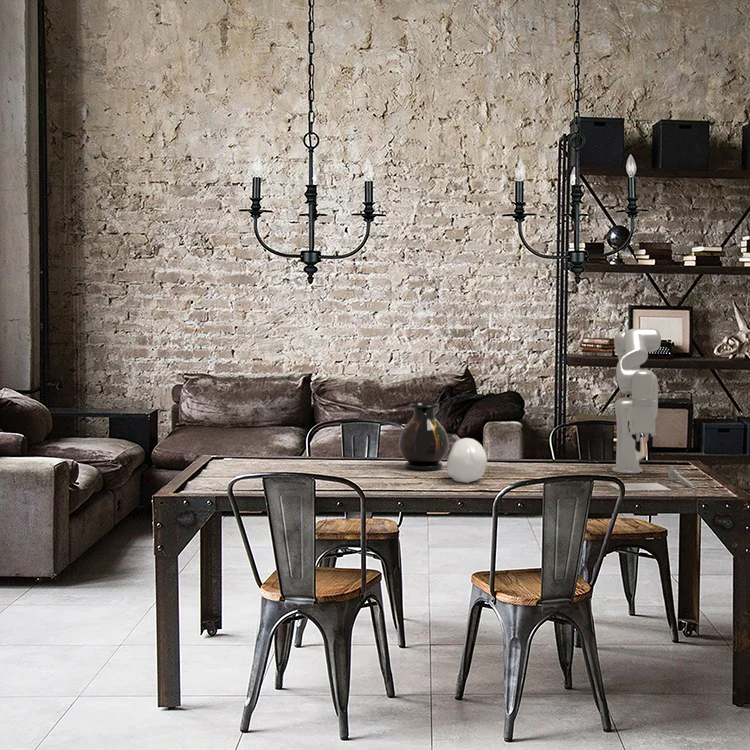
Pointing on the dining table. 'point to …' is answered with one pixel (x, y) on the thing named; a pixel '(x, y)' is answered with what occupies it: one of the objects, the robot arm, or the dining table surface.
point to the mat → (642, 486)
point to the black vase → (423, 439)
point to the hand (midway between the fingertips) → (640, 451)
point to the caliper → (678, 477)
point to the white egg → (466, 460)
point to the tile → (642, 449)
